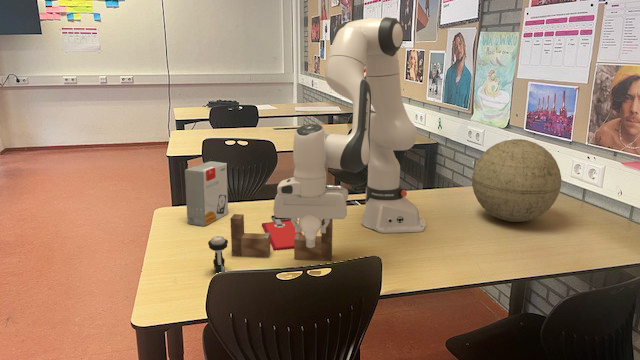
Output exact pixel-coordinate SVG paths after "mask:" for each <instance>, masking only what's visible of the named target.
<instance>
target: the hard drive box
mask: <svg viewBox="0 0 640 360" xmlns="http://www.w3.org/2000/svg"><path fill="white" fill-rule="evenodd" d="M227 166H228V163H227V162H220V161H211V160H210V161H206V162H203V163H201V164H198V165H195V166H192V167H190V168H186V169H185V170H184V178H185V180H184V181H185V199H186V215H187V216H186V221H187V224H189V225H195V226H200V227H206V226H208V225H210V224H212V223H213V222H215V221H218V220H219V219H221V218H223V217H225V216H227V215H228V214H229V201H228V199H229V198H228V197H229V196H228V171H227V170H228V168H227Z"/></svg>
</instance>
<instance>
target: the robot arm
mask: <svg viewBox="0 0 640 360" xmlns="http://www.w3.org/2000/svg"><path fill="white" fill-rule="evenodd" d="M403 42H404V29H403V26H402V24H401V22H400V21H399V20H398V19H397V18H395V17H386V16H385V17H370V18H369V17H367V18H365V19H358V20H352V21H351V20H347V21H344V22H341V24H339V25H338V26H337V28H336V29H335V31H334V34H333V41H332V43H331V46H330V50H329V52H328V55H327V56H328V57H327V60H326V64H325V69H324V77H325V81H326V83H327V86H329V88H330V89H331V90H333V91H334V92H335V93H337V94H338V95H339V96H342V97H344V98H346V99H348V100H349V101H351V102H352V105H353V110H352V128H351V132H350V133H349V134H339V133H333V132H328V131H325V130H324V127H323V125H321V124H318V123H316V124H315V123H308V124H304V125H301V126H299V127H298V128H297V129H296V130H295V133H294V137H293V147H292V150H293V151H292V153H293V154H292V157H293V159H292V160H293V164H294V171H293V177H290V178H286V179H282V180H281V181H280V182H279V183H278V185H277V187H276V189H277V191H276V192H277V194H276V195H275V198H274V202H273V216H274V215H275V217H276V218H291V222H292V224H293V225H294V227H295V233H302V229H301V228H300V225H299V222H297V220H298V219H300V218H303V217H305V216H307V215H312V216H314V217H316V218H318V219H324V222H325V224H324V226H322V225H321V227H320V229H319V230H320V234H321V233H326V227H327V226H328V224H329V222H330V219H333V220H344V219H346V218H347V216H348V209H347V201H348V199H349V190H348V188H346V187H345V186H343V185H340V184H339V185H333V184H332V185H331V184H329V185H328V184H327V171H326V168H330V169H338V170H342V171H346V172H350V173H354V174H355V173H359V172H360V171H362V170H363V169H365V168H366V167H367V184H366V187H365V202H366V203H365V208H364V213H363V217H362V219H361V225H363V226H364V227H366V228H368V229H371V230H375V231H376V232H378V233H382V234H391V233H397V234H398V233H420V232H424V231H425V229H426V222H425V220H424V219H423V218H421V217H420V213H419V212H420V211H419V209H418V207H417V205H416V204H414V203H413V202H412V201H411V200H410V199H408V198H407V195H408V193H407V191H406V189H405V188H404V186H402V185H400V176H401V165H400V163H399V160H398V159H397V158H396V155H395V152H394V151H408V150H410V149H412V147H414V145H415V144H416V141H417V139H418V130H417V127H416V125H415V124H414V123H413V122H412V120H411V119H410V117H409V116H408V113H407V111H406V108H405V105H404V101H403V99H402V98H403V97H402V90H401V76H400V75H401V72H400V61H399V55H398V52H399V50H400V48H401V47H402V44H403ZM364 72H365V73H364ZM372 108H373V110H374V112H373V113H372V112H371V111H372ZM325 167H326V168H325Z"/></svg>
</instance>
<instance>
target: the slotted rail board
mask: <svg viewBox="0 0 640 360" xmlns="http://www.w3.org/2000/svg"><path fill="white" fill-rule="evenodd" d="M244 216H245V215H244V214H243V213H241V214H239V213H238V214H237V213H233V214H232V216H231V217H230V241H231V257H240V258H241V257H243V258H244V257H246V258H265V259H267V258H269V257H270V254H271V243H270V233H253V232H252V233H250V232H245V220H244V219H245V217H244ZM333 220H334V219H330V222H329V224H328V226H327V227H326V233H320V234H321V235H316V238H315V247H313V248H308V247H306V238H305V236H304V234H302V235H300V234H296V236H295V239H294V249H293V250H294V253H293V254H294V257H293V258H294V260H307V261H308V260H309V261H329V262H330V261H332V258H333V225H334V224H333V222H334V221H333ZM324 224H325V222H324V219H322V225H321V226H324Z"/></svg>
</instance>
